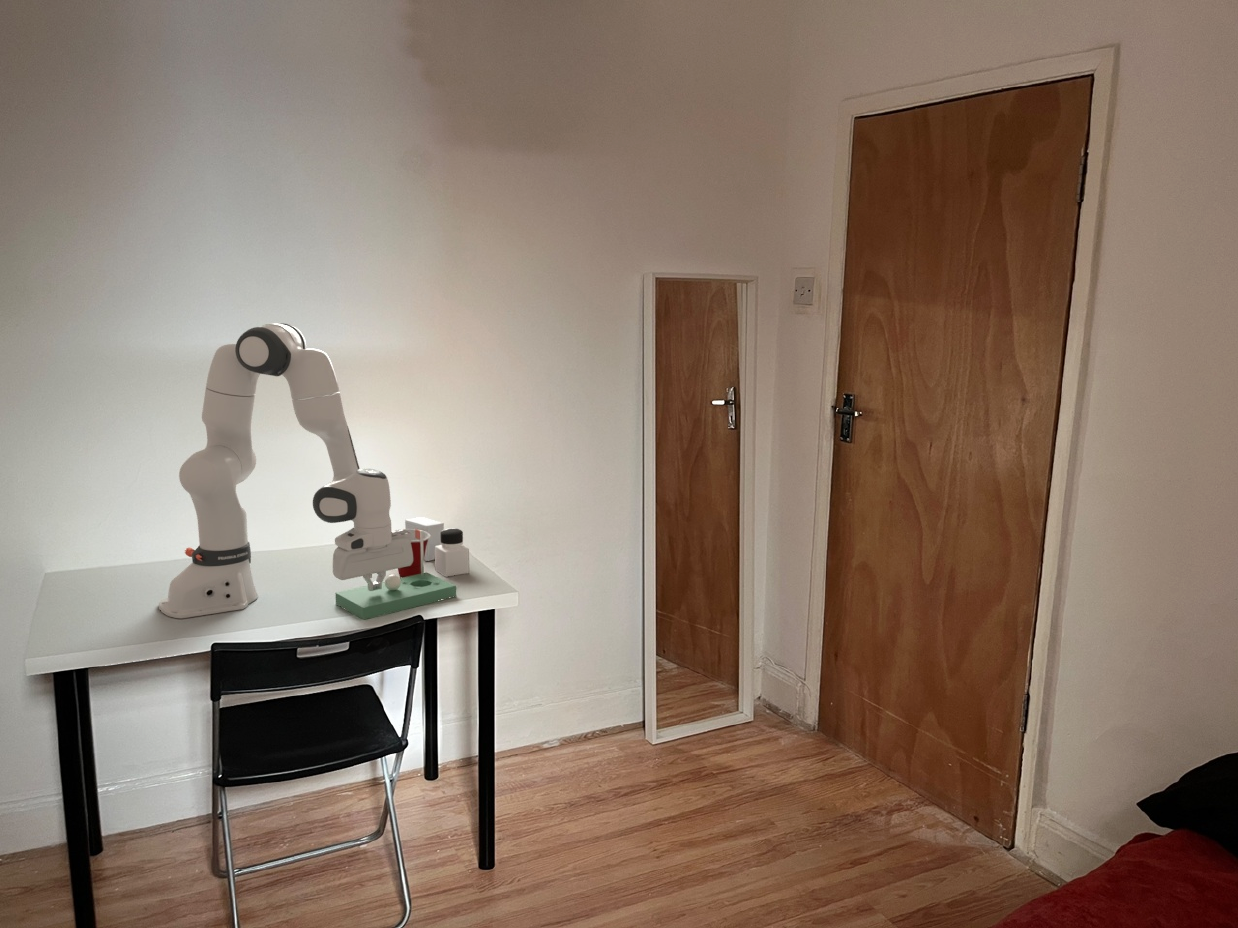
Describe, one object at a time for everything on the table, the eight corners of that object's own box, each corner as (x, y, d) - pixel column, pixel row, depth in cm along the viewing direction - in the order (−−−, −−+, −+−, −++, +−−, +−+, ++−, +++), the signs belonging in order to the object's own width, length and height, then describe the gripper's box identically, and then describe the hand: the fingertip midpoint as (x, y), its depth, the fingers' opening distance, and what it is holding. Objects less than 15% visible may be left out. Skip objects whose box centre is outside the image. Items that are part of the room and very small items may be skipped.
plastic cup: (421, 583, 256) (420, 540, 254) (383, 580, 258) (382, 537, 256) (437, 571, 267) (436, 529, 264) (400, 568, 269) (399, 526, 267)
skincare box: (445, 557, 280) (444, 522, 278) (427, 561, 276) (426, 526, 274) (422, 549, 287) (422, 515, 285) (404, 554, 282) (404, 519, 280)
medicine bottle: (469, 573, 266) (469, 531, 264) (445, 577, 262) (444, 534, 260) (458, 566, 272) (458, 525, 270) (434, 570, 268) (434, 528, 266)
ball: (397, 573, 239) (406, 582, 242) (389, 569, 242) (399, 578, 245) (386, 586, 238) (396, 595, 240) (378, 581, 241) (388, 591, 243)
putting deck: (363, 619, 230) (361, 558, 227) (332, 602, 241) (330, 544, 238) (456, 596, 247) (455, 540, 244) (423, 581, 258) (422, 527, 255)
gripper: (404, 525, 245) (405, 578, 247) (328, 539, 231) (330, 594, 234) (417, 530, 240) (418, 584, 243) (340, 545, 226) (342, 601, 229)
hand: (374, 589), depth 238 cm, fingers closed
